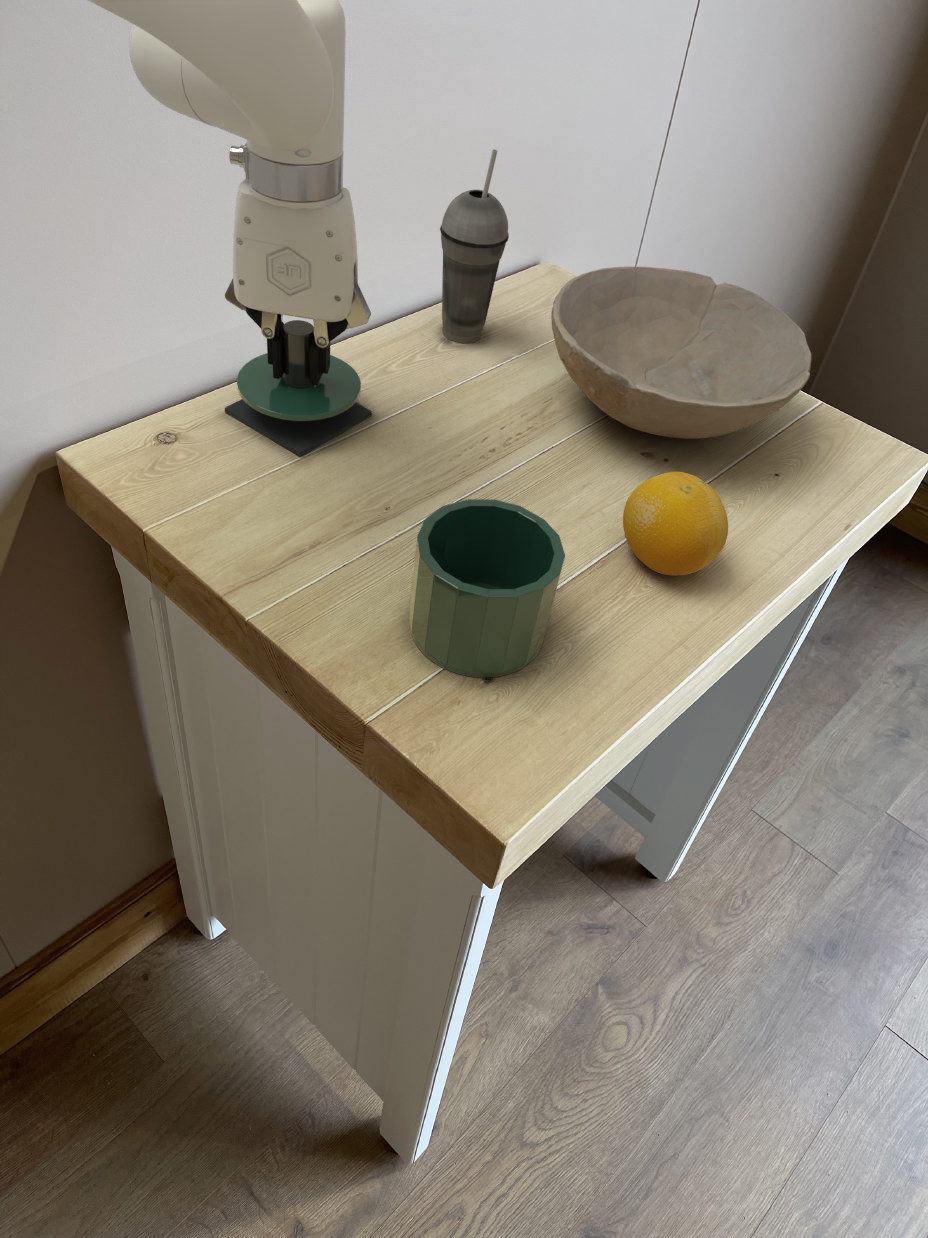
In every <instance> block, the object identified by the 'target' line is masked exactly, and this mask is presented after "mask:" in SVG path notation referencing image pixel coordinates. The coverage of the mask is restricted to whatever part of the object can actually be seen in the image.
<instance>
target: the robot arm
mask: <svg viewBox="0 0 928 1238" xmlns="http://www.w3.org/2000/svg"><path fill="white" fill-rule="evenodd" d="M87 1H88V2H90V3H91V4H94V5H96V6H98V7H100V8H101V9H104V10H106V11H108V12H109V13H112V14H113V15H114V16H115V15H116V16H117V17H119V18H121V19H123V20H125V21H127V22H128V23H130V24H132V25H131V28H130V31H129V38H128V39H129V40H128V50H129V59H130V63H131V66H132V69H133V72H134V74H135V77H136V78H137V80H138V82H140V84H141V86H142V87H143V88H144V90H145V91H146V93H148V94H149V95H150V96H151V97H152V98H154V99H155V101H157V102H158V103H159V104H161V105H163V106H164V107H166V108H168V109H170V110H172V111H174V112H175V113H178V114H180V115H183V116H186V117H188V118H190V119H193V120H195V121H198V122H200V123H202V124H205V125H208V126H211V127H214V128H217V129H220V130H222V131H224V132H228V133H230V134H233V135H234V136H237V137H240V138H243V139H245V141H246V143H245V144H244V145H243V144H241V145H240V146H236V145H231V146H230V149H229V156H228V157H229V163H230V164H231V165H236V166H239V168H243V170H244V173H245V179H243V181H241V182H240V183H239V184H238V188H237V193H236V197H235V198H236V199H235V208H234V209H235V210H234V220H233V221H234V222H233V246H232V276H233V277H232V279H231V280H230V283H229V284H228V287H227V289H226V291H225V292H224V299H225V300H226V301H227V302H229V303H230V304H231V305H233V306H235V307H236V308H238V309H239V310H241V311H245V312H246V314H247V316H248V317H249V318H250V319H251V320H252V321H253V322H254V323H255V324H256V325H257V327H259V328H260V330H261V332H260V333H261V335H262V336H263V337H264V338H265V339H266V351H267V352H266V353H267V356H268V364H271V365H273V378H276V379H280V378H282V376H283V374H284V349H283V325H284V324H285V323H284V321H283V316H289V317H295V318H302V319H307V320H312V322H313V327H314V337H313V341H312V343H311V345H310V349H309V359H310V383H312V385H318V383H319V381H320V379H321V377H322V375H323V373H325V374H327V373H328V371H329V368H330V355H331V342H332V341H333V340H335V339H336V338H338V337H339V336H340V335H342V334H343V333H344V332H345V331H346V330H349V329H354V328H358V327H361V326H363V325H366V324H368V323H369V320H370V318H371V316H372V312H371V309H370V307H369V305H368V303H367V301H366V298H365V295H364V294H363V292H362V290H361V288H360V285H359V262H358V260H359V259H358V242H357V231H356V221H355V213H354V207H353V202H352V201H353V200H352V196H351V192H350V190H349V189H348V188H346V187H344V137H345V135H344V133H345V131H344V130H345V90H346V89H345V88H346V87H345V85H346V84H345V82H346V17H345V16H346V15H345V12H344V8H343V7H342V5H341V3H340V1H339V0H87Z"/></svg>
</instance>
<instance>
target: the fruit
mask: <svg viewBox="0 0 928 1238" xmlns="http://www.w3.org/2000/svg"><path fill="white" fill-rule="evenodd" d="M622 513H623V514H622V528H623V534H624V536H625V539H626V542H627V544H628V546H629V548H630V550H631V551H632V552H633V554H634V556H636V558H637V559H639V561H640V562H641V563H643V564H644V565H645V566H646V567H648V568H649V569H650V570H652V571H654V572H656V573H658V574H661V575H665V576H686V575H690V574H693V573H696V572H698V571H700V570H703V569H704V568H706V567H707V566H709V564H711V563H712V562H713V561H714V560H715V559H716V558H717V557H718V556H719V555H720V553H721V552H722V551H723V549H724V547H725V544H726V543H727V539H728V534H729V519H728V514H727V511H726V508H725V506H724V503H723V501H722V499H721V498H720V496H719V494H718V493H717V492H716V491H715V489H714V488H712V486H710V485H709V484H708V483H707V482H706V481H704V480H703V479H701V477H700V478H699V477H698V476H695V475H694V474H690V473H687V472H683V471H668V472H664V473H661V474H658V475H655V476H653V477H650V478H648V479H647V480H645V481H643V482H642V483H641V484H639V485H637V487H635V489H634V490H632V492H631V493H630V494H629V496H628V498H627V500H626V502H625V505H624V508H623V512H622Z"/></svg>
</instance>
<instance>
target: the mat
mask: <svg viewBox="0 0 928 1238" xmlns="http://www.w3.org/2000/svg"><path fill="white" fill-rule="evenodd" d="M224 413H226V414H228V415H229V416H231V417H233V418H234V419H236V420H238V421H239V422H241V423H243V424H244V425H246V426H248V427H249V428H251V429H253V430H254V431H256V432H257V433H258V434H261V435H263V436H264V437H265V438H268V439H269V440H270V441H273V442H274V443H276V444H278V445H280V446H281V447H283V448H284V449H286V450H287V451H289V452H291V453H293V454H295V455H296V456H298V457H299V458H301V457H302V456H304V455H306V454H307V453H309V452H311V451H313V450H314V449H316V448H318V447H320V446H321V445H323V444H325V443H327V442H328V441H330V440H332V439H333V438H335V437H338V436H339V435H340V434H342V433H344V432H346V431H347V430H349V429H351V428H353V427H354V426H356V425H357V424H359V423H361V422H363V421H365V420H366V419H368V418H370V417H371V416H372V415H373V411H372V410H370V409H369V408H366V407H365V406H363V405H361V404H360V403H358V402H357V401H356V402H355V404H354V405H353V406H352V407H350V408H349V409H348V410H346V411H344V412H342V413H340V414H338V415H336V416H333V417H329V418H326V419H320V420H313V421H291V420H284V419H279V418H275V417H271V416H268V415H265V414H263V413H260V412H258V411H257V410H255V409H253V408H252V407H250V406H249V405H248V404H247V403H245V402H244V400H243V399H242V398H241V399H239V400H237V401H235V402H233V403H232V404H231V403H230V404H229V405H227V406H225V407H224Z"/></svg>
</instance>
